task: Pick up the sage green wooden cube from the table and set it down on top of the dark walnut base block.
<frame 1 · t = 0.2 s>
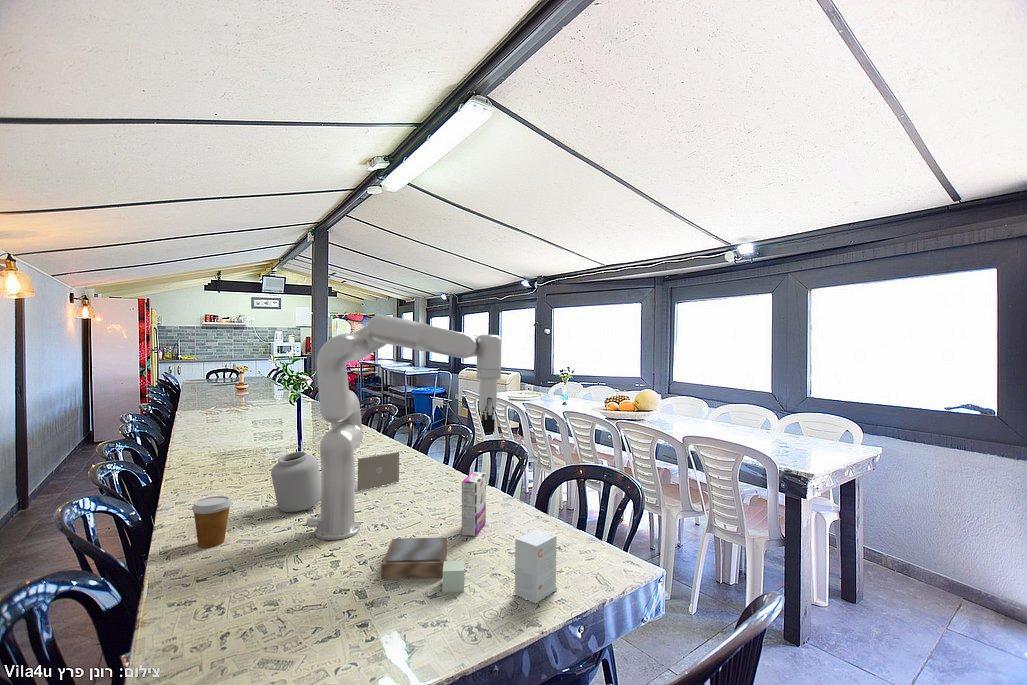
hand: (487, 429, 145), 31 cm above the table, tool pointing down, fingers open, 9 cm apart
laptop: (371, 485, 190), on the table
small box: (535, 593, 109), on the table
candy bar box: (473, 530, 145), on the table
sage cube: (453, 586, 111), on the table
jar: (294, 509, 160), on the table
disposable coffee cup: (211, 543, 132), on the table
walnut base: (416, 563, 122), on the table
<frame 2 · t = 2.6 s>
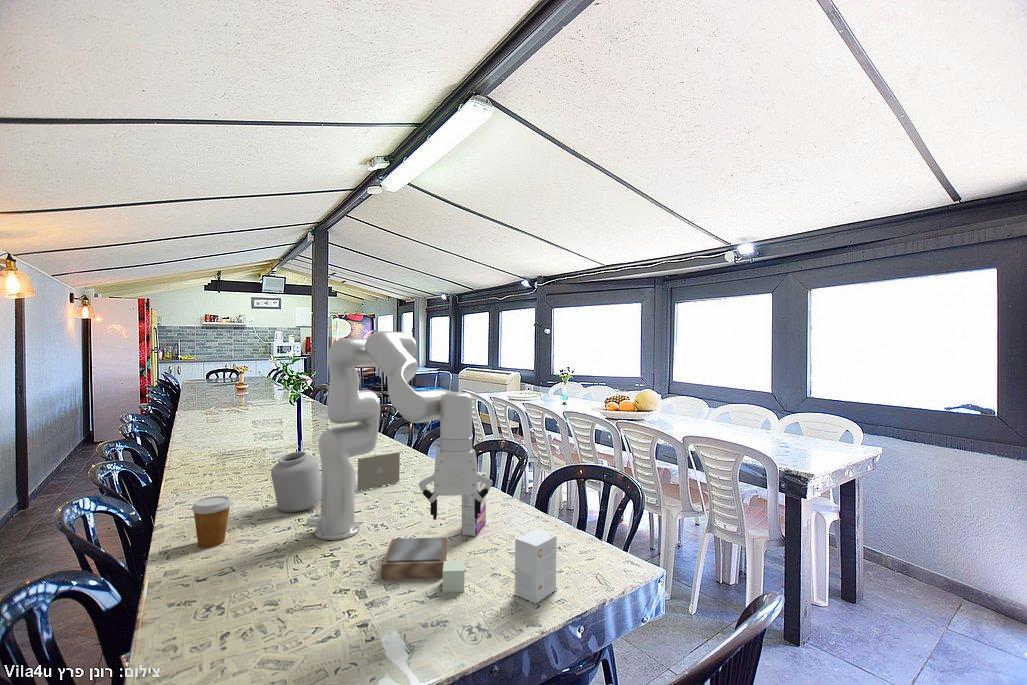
hand: (455, 517, 111), 16 cm above the table, tool pointing down, fingers open, 9 cm apart
nothing on the table moved.
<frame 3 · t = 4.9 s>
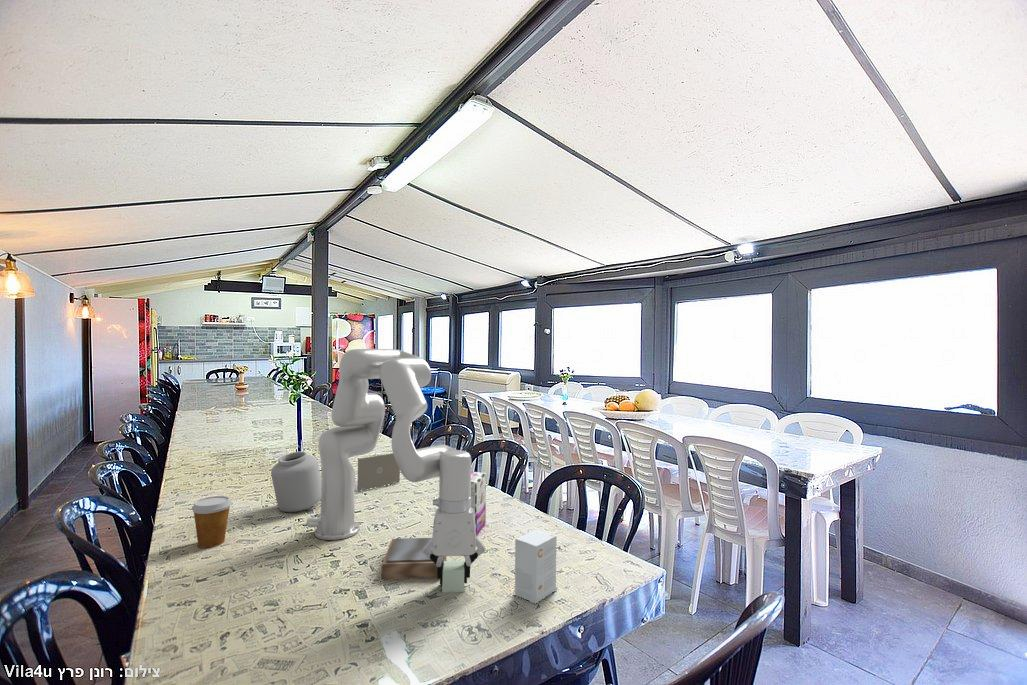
hand: (453, 580, 111), 2 cm above the table, tool pointing down, fingers closed on sage cube, 5 cm apart
sage cube: (453, 586, 111), on the table, touching gripper
everything else where it was.
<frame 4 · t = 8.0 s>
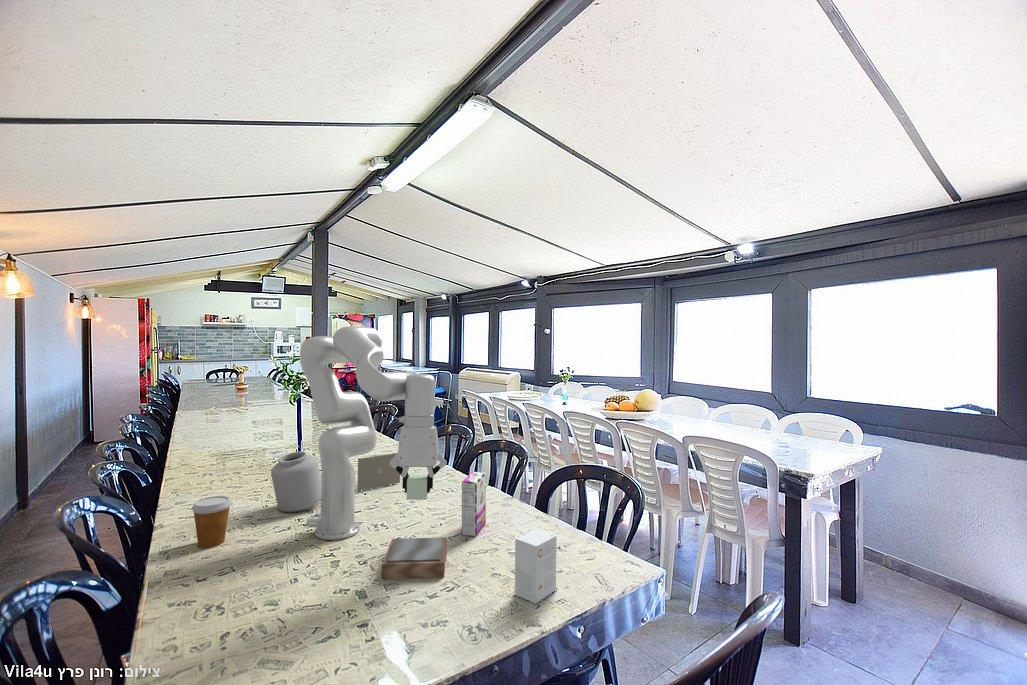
hand: (417, 490, 122), 19 cm above the table, tool pointing down, fingers closed on sage cube, 5 cm apart
sage cube: (417, 496, 122), point 18 cm above the table, touching gripper
everything else where it was.
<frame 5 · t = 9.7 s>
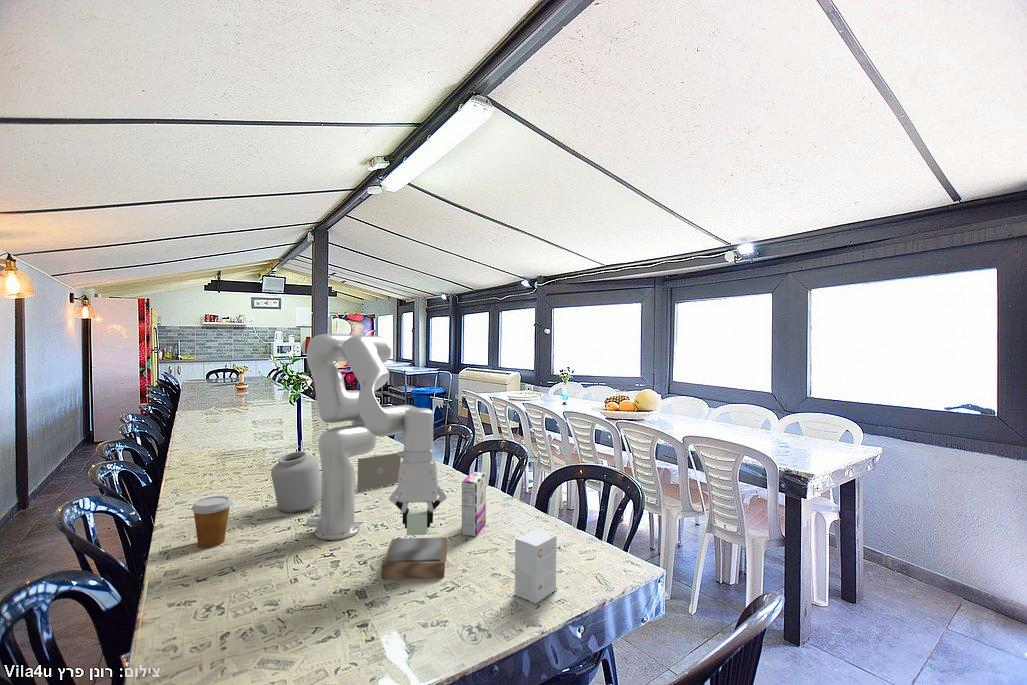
hand: (417, 525, 122), 10 cm above the table, tool pointing down, fingers closed on sage cube, 5 cm apart
sage cube: (417, 531, 122), point 9 cm above the table, touching gripper
everything else where it was.
when the fingers open (7 cm above the table, at t = 11.2 s): sage cube drops 1 cm, resting on walnut base.
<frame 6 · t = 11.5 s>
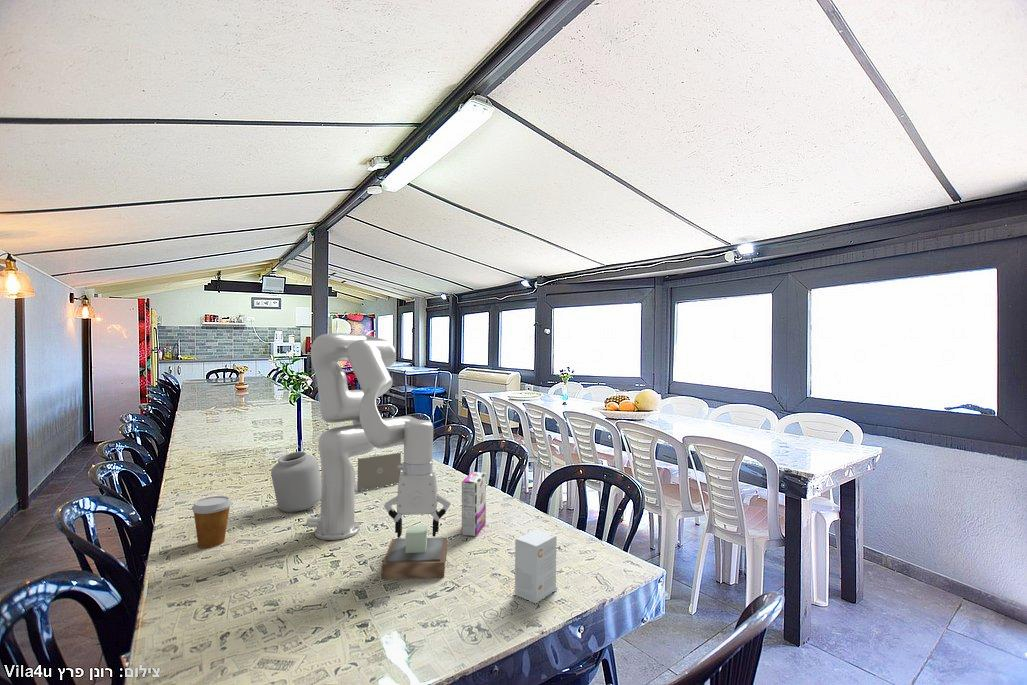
hand: (417, 534, 122), 8 cm above the table, tool pointing down, fingers open, 8 cm apart
sage cube: (416, 548, 122), point 4 cm above the table, touching walnut base
everything else where it was.
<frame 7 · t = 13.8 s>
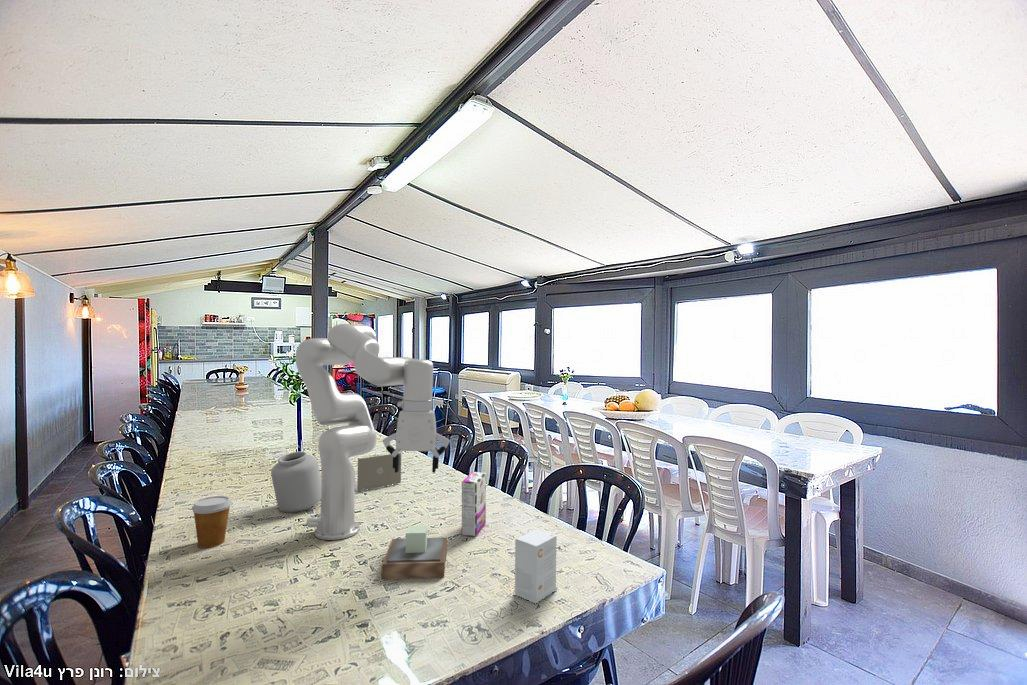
hand: (415, 471, 123), 24 cm above the table, tool pointing down, fingers open, 9 cm apart
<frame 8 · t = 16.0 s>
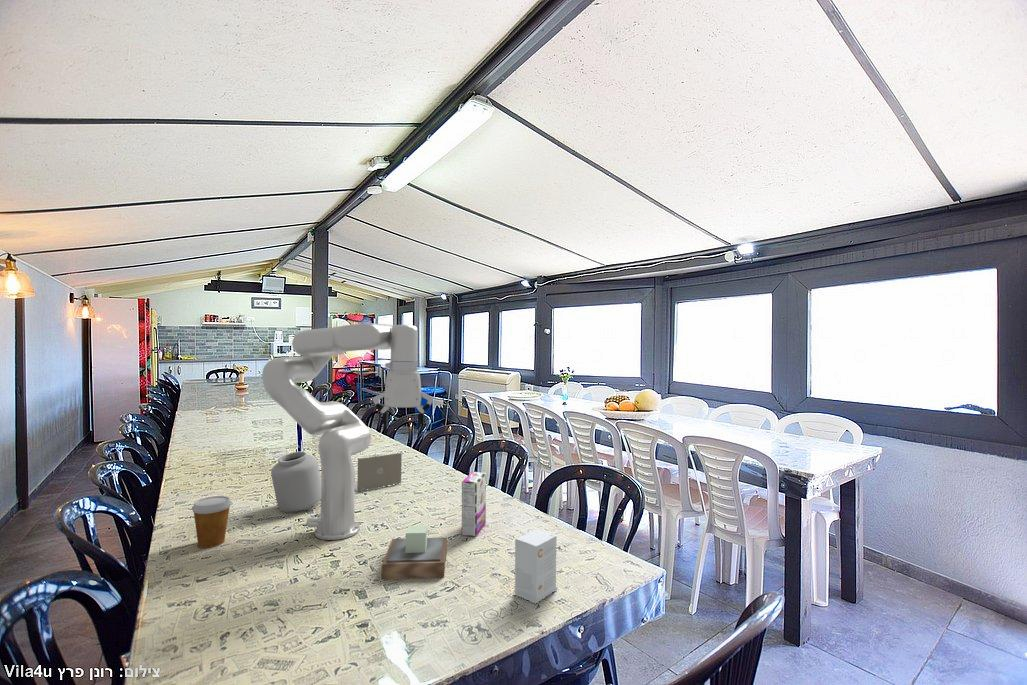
hand: (402, 426, 135), 33 cm above the table, tool pointing down, fingers open, 9 cm apart
at the end: sage cube inside the target area on the walnut base (0.1 cm from its centre), point 4.0 cm above the walnut base's base; sage cube tilted 0°; the gripper is holding nothing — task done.
